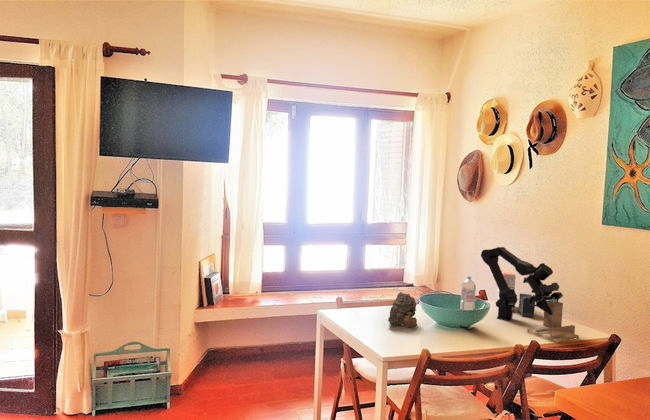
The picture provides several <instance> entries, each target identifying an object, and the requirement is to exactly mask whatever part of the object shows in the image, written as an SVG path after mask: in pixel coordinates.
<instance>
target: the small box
mask: <svg viewBox="0 0 650 420" xmlns="http://www.w3.org/2000/svg"><path fill="white" fill-rule="evenodd" d="M532 296H533V295H532V294H527V293H519V299H518V300H519V301H518V311H517V312H518V313H519V314H520V316H522V317H525V318H534V317H535V308H536V306H535V304H536V302H534V303H535V304H534V305H529V303H528V299H529V298H530V297H532Z"/></svg>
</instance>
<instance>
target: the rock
mask: <svg viewBox="0 0 650 420" xmlns="http://www.w3.org/2000/svg"><path fill="white" fill-rule="evenodd" d="M416 311H417V302H416V300H415V297H413V296H410V295H409V294H407V293H404V292H398V293H397V296H396V298H395V300H394V301H393V303H392V306H391V307H390V309H389V317H388V319H387V322H388V323H389V325H390V326H396V325H398V324H400V325H402V326H403V325H404V326H403V327H406V326H407V327H406V328H409V327H415V328H417V326H418V323H417V322H418V321H417V317H414V316H415V315H416ZM393 324H394V325H393Z"/></svg>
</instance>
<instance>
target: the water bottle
mask: <svg viewBox="0 0 650 420" xmlns="http://www.w3.org/2000/svg"><path fill="white" fill-rule="evenodd" d="M460 286H461V291H460V297H461V298H460V308H459V310H460V309H462V310H473V309H475V310H476V308H475V307H476V306H475V305H476V289H477V285H476V283H475V282H474V281H473V280H472V276H467V277H466V279H465V280H463V282H462V284H461V285H460ZM474 325H475V324H474ZM474 325H472V326H471V327H470V328H469V329H473V328H474ZM472 327H473V328H472Z"/></svg>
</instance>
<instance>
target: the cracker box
mask: <svg viewBox="0 0 650 420" xmlns="http://www.w3.org/2000/svg"><path fill="white" fill-rule="evenodd" d="M501 271H502V274H503V276H504V278H505V280H506V283H507V285H508V287H509V288H510V289H514V290H515V291H516V288H515V287H516V274H515V273H513V272H512V271H510V270H509V269H501ZM499 299H500V298H499V288H498V287H497V295H496V302H497V301H498V300H499ZM514 308H515V306H514V307H512V310H513V311H515V310H514Z"/></svg>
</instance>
